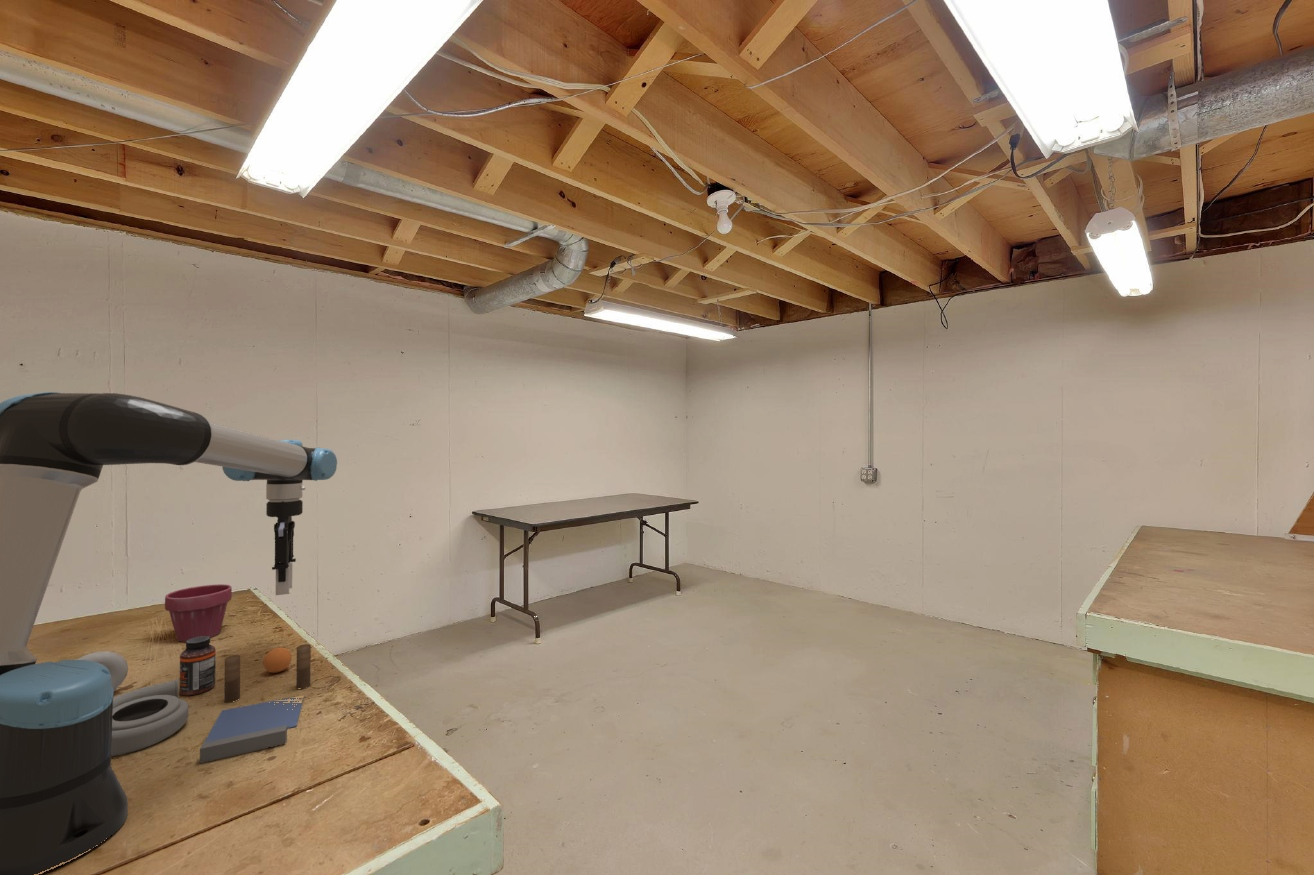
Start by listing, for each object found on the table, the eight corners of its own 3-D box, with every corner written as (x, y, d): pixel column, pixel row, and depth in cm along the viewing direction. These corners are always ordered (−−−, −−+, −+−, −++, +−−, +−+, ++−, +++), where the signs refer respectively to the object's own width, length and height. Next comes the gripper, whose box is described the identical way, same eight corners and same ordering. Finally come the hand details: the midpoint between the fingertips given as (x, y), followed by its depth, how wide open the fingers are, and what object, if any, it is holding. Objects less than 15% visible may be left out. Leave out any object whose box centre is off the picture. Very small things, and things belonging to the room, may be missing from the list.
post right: (309, 687, 116) (310, 647, 116) (295, 690, 115) (295, 649, 115) (310, 682, 119) (311, 643, 119) (297, 685, 117) (297, 645, 118)
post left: (238, 701, 110) (238, 658, 110) (222, 703, 109) (223, 660, 109) (241, 695, 113) (241, 653, 113) (225, 698, 111) (226, 656, 111)
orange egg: (289, 673, 123) (290, 650, 123) (261, 678, 121) (261, 654, 121) (293, 664, 128) (293, 642, 128) (265, 669, 126) (265, 646, 126)
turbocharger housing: (68, 779, 87) (189, 744, 97) (68, 741, 87) (189, 710, 97) (81, 730, 99) (187, 703, 110) (81, 697, 99) (187, 673, 109)
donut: (58, 711, 106) (59, 661, 106) (59, 705, 108) (59, 657, 108) (128, 693, 113) (129, 647, 113) (127, 688, 116) (128, 643, 116)
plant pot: (182, 629, 152) (183, 585, 152) (240, 624, 156) (240, 581, 156) (152, 648, 138) (152, 600, 138) (216, 642, 142) (216, 595, 142)
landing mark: (296, 726, 101) (296, 725, 101) (202, 746, 94) (202, 745, 94) (304, 695, 113) (304, 694, 113) (222, 711, 106) (222, 710, 106)
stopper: (285, 744, 95) (285, 730, 95) (199, 763, 89) (199, 748, 89) (286, 738, 97) (287, 725, 97) (203, 757, 91) (203, 742, 91)
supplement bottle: (174, 692, 114) (174, 640, 114) (207, 681, 119) (208, 632, 119) (186, 699, 111) (187, 646, 111) (220, 687, 116) (221, 636, 116)
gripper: (298, 503, 127) (297, 598, 127) (306, 496, 143) (305, 581, 143) (259, 504, 123) (259, 603, 123) (272, 497, 139) (271, 584, 139)
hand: (284, 591), depth 133 cm, fingers open, 5 cm apart
